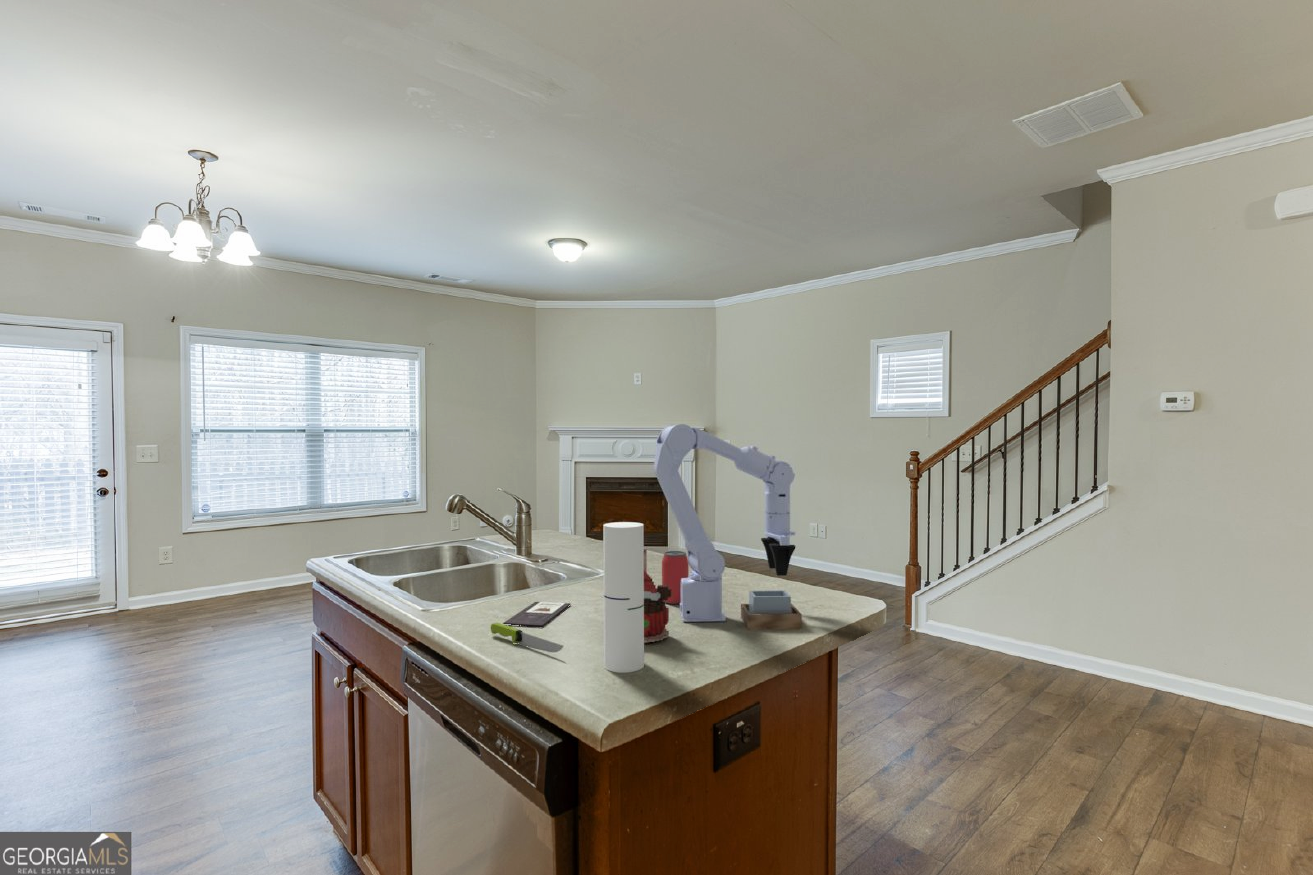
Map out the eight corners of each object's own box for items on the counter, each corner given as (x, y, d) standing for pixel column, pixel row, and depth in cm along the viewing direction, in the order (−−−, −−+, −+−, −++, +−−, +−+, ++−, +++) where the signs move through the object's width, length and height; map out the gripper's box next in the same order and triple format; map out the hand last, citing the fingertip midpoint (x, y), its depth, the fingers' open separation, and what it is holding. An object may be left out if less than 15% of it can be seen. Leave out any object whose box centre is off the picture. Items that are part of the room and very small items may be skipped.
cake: (674, 632, 131) (674, 545, 131) (667, 647, 122) (667, 554, 122) (624, 629, 133) (623, 544, 133) (613, 644, 124) (613, 552, 124)
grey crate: (753, 625, 135) (753, 597, 135) (749, 617, 140) (749, 590, 140) (790, 624, 135) (790, 596, 135) (785, 617, 140) (784, 590, 140)
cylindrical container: (603, 658, 115) (603, 522, 115) (642, 657, 116) (642, 521, 116) (603, 673, 108) (603, 527, 108) (645, 671, 109) (644, 527, 109)
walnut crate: (747, 631, 133) (747, 615, 133) (740, 619, 142) (740, 603, 142) (801, 630, 133) (801, 614, 133) (791, 618, 142) (791, 603, 142)
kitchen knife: (566, 660, 115) (566, 644, 115) (561, 662, 114) (561, 646, 114) (495, 636, 130) (495, 621, 130) (490, 637, 129) (490, 622, 129)
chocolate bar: (503, 623, 136) (535, 601, 154) (503, 627, 136) (535, 605, 154) (542, 625, 135) (570, 603, 152) (542, 629, 135) (570, 607, 152)
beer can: (689, 598, 159) (689, 550, 159) (687, 605, 152) (687, 555, 152) (663, 597, 159) (663, 550, 159) (660, 604, 153) (660, 555, 153)
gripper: (803, 516, 138) (803, 578, 138) (787, 509, 153) (787, 565, 153) (771, 516, 138) (771, 578, 138) (758, 509, 153) (758, 565, 153)
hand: (777, 571), depth 145 cm, fingers open, 7 cm apart
